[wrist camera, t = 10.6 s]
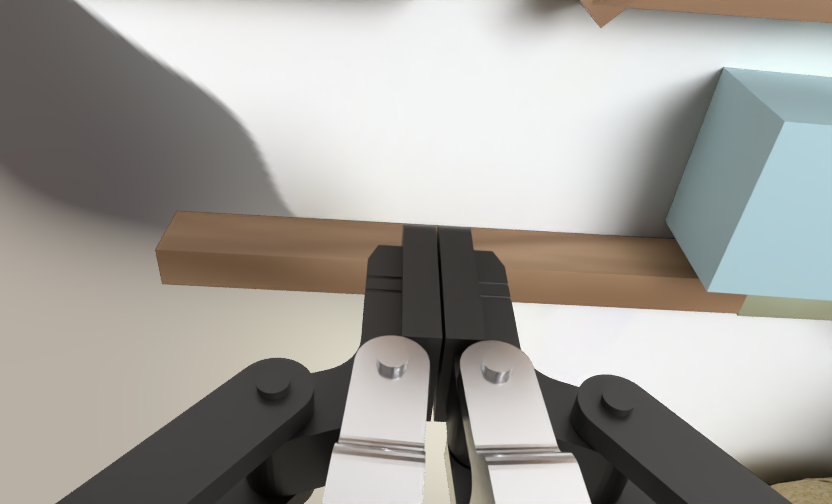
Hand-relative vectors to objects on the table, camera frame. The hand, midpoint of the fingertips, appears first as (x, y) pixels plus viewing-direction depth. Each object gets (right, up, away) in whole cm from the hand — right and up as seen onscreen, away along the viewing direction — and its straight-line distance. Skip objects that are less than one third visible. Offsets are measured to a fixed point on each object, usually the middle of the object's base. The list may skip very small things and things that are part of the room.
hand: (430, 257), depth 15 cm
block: (+14, +3, +9) cm, 17 cm away
